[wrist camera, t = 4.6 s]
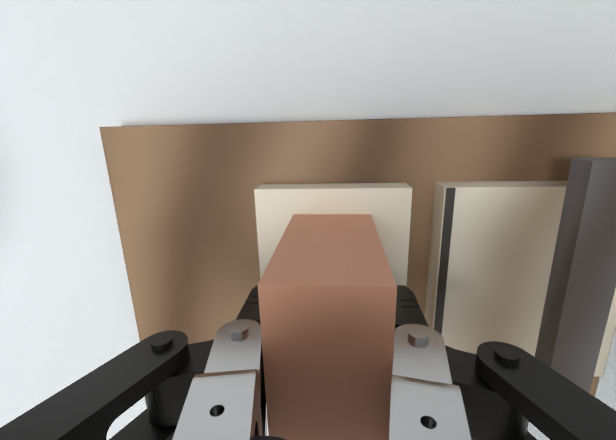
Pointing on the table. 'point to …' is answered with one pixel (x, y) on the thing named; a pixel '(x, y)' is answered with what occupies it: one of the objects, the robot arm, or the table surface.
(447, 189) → the stand
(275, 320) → the stub
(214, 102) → the table surface
